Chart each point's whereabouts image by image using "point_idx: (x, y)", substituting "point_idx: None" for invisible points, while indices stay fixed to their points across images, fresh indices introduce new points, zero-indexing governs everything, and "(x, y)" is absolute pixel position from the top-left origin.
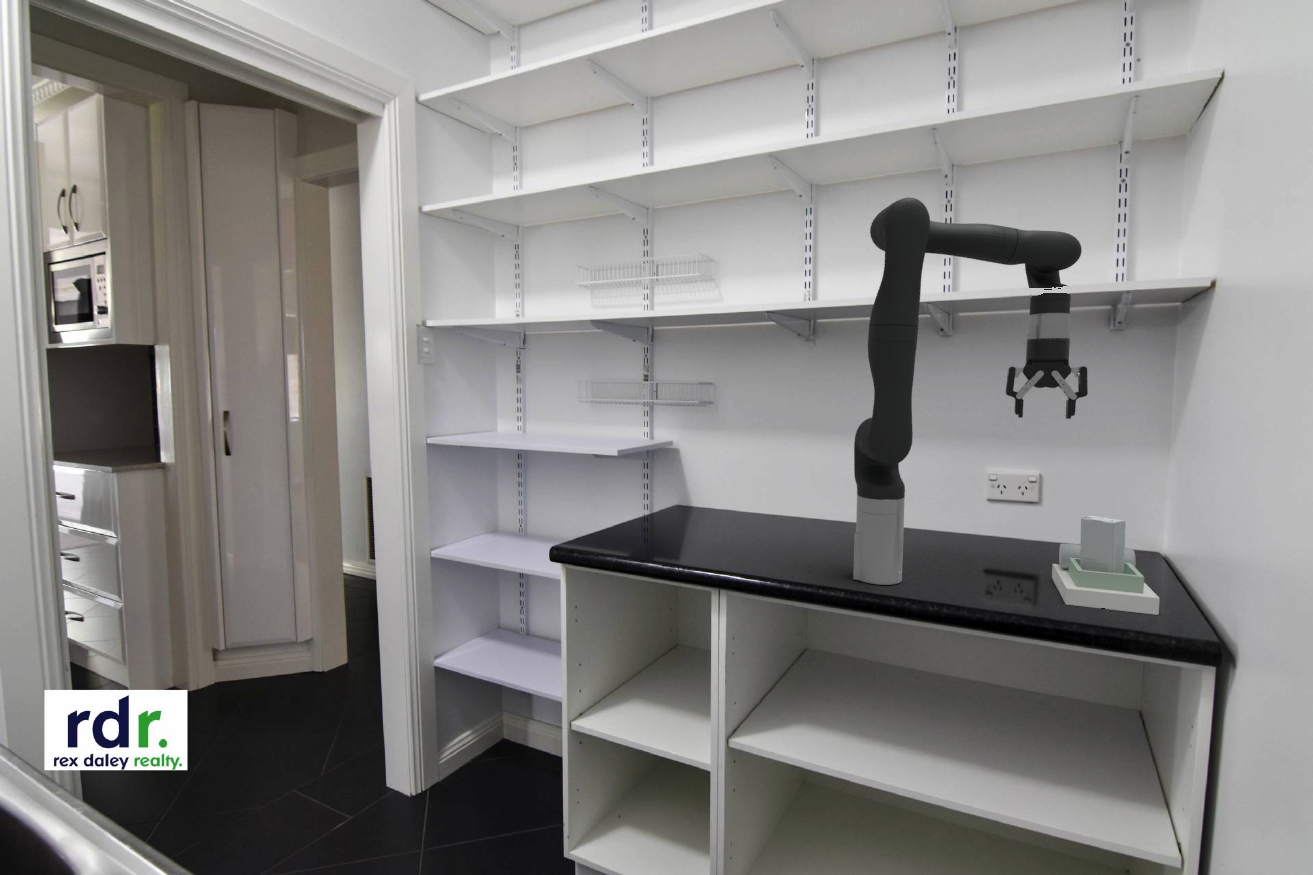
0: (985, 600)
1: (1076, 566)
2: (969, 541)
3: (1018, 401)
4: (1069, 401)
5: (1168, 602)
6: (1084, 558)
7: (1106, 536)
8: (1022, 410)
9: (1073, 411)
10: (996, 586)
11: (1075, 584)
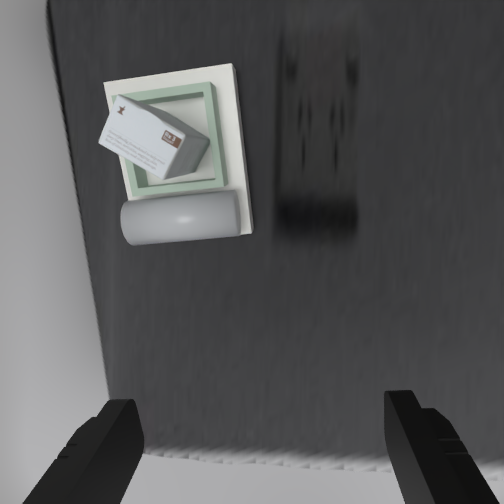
0: (358, 16)
1: (212, 116)
2: (377, 409)
3: (472, 501)
4: (60, 496)
5: (104, 169)
6: (197, 133)
7: (145, 106)
8: (404, 420)
9: (79, 440)
10: (338, 124)
11: (218, 101)
